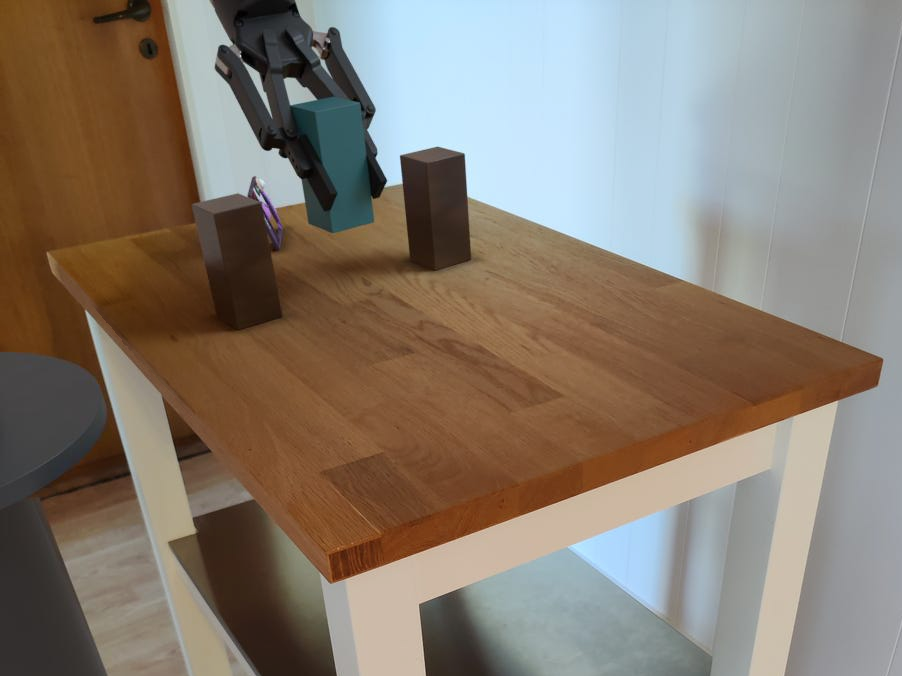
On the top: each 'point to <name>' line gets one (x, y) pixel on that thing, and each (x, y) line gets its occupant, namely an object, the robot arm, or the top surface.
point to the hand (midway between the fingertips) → (355, 195)
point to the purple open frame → (266, 211)
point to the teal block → (337, 161)
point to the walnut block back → (436, 207)
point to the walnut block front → (238, 260)
